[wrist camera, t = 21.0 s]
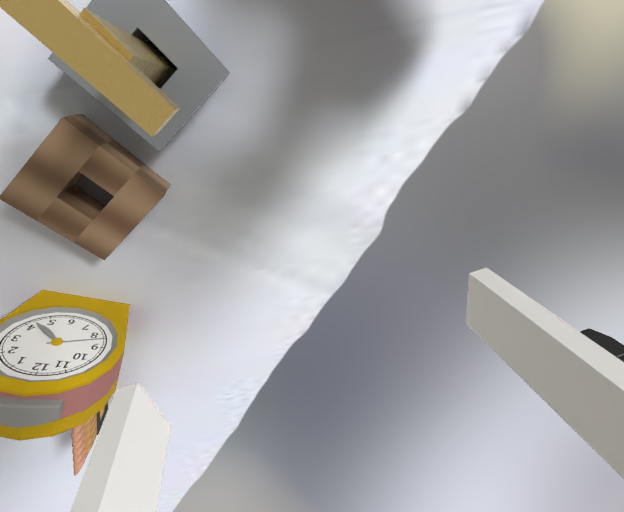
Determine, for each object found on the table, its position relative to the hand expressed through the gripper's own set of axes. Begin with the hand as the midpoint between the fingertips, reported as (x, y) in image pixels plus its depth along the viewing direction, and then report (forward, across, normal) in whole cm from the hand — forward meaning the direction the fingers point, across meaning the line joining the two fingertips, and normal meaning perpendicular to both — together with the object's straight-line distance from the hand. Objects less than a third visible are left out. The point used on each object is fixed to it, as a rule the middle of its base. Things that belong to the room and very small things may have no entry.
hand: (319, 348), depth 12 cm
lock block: (+37, -20, +2) cm, 42 cm away
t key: (+37, -8, +13) cm, 40 cm away
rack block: (+37, -8, +13) cm, 40 cm away
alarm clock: (+37, -32, -16) cm, 51 cm away
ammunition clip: (+37, -38, -32) cm, 62 cm away
